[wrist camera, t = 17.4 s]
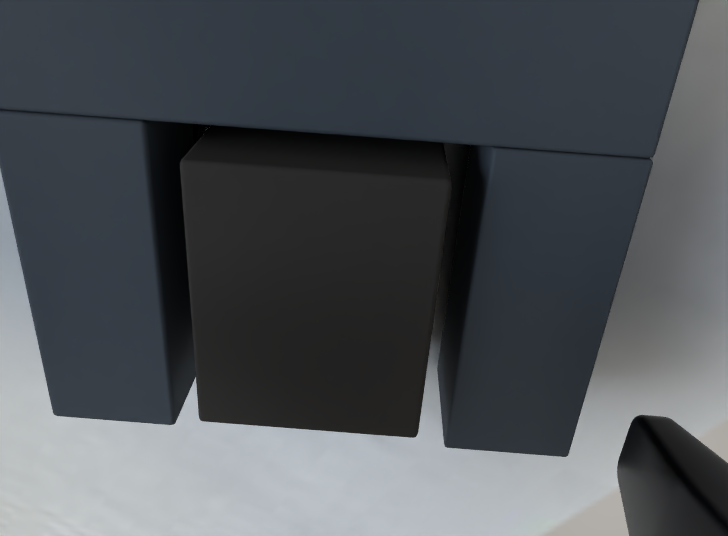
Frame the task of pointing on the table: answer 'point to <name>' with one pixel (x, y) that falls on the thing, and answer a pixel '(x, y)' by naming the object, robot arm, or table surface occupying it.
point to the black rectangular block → (313, 276)
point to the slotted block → (339, 117)
